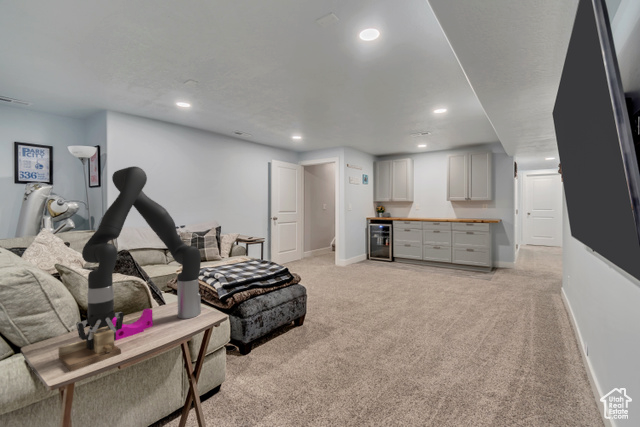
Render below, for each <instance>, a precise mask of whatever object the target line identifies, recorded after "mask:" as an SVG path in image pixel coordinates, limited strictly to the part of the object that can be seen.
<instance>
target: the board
mask: <svg viewBox="0 0 640 427" xmlns="http://www.w3.org/2000/svg"><path fill="white" fill-rule="evenodd" d="M121 354H122V349H121V348H120V347H118V346H116V344H114V348H113V349H112V351H110V352H109V353H108V352H106V351H104V352H101V353H98V354H97V353H96V352H95V351H93V350H89V349H88V348H87V346H86V340H80V341H77V342H76V341H75V342H73V343H69V344H65V345H63V346H59V347H58V360H59V361H60V362H61V364H63V365H64V366H65V367H66V368H67V369H68V370H69V371H70V372H73V371H75V370H76V371H77V370H79V369H81V368H84V367H87V366H89V365H93V364H95V363H98V362H101V361H103V360H107V359H110V358H112V357H115V356H118V355H121Z"/></svg>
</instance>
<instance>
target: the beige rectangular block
mask: <svg viewBox="0 0 640 427" xmlns="http://www.w3.org/2000/svg"><path fill="white" fill-rule="evenodd" d="M92 339H93V351H95V352H96V353H97V354H98V353H101V352H104V351H106V352H108V353H109V352H110V351H112V349H113V348H114V345H115V341H114V331H113V330H111V329H109V328H108V327H102V328H100V329H97V330H96V332H95V333H94V335H93V338H92Z"/></svg>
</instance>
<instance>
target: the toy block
mask: <svg viewBox="0 0 640 427" xmlns="http://www.w3.org/2000/svg"><path fill="white" fill-rule="evenodd" d="M116 320H117V318H116V316H115V317H114V318H113V320H112V321H111V322H112V324H113V325H114V327H115V326H116ZM153 326H154V325H153V309H151V308H149V307H148V308H143V310H142V313H141V315H140V317H139V318H138V319H136V321H134V322H132V323H128V324H124V323H122V328H121V329H119V330H117V331H116V340H115V341H119V340H123V339H125V338H128V337H131V336H135V335H137V334H140V333H144V332H145V330H146V329H149V328H152V327H153ZM115 341H114V342H115Z"/></svg>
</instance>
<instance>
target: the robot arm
mask: <svg viewBox="0 0 640 427" xmlns="http://www.w3.org/2000/svg"><path fill="white" fill-rule="evenodd" d="M111 176H112V177H111V178H112V183H113V185H114V187H115V188H116V189H117V190H118V191H119V194H118V195H117V197H116V198H115V200H114V201H113V202H112V204H111V205H110V206H109V207H108V209H107V210H106V211H105V213H104V215H103V216H102V217H101V221H100V223H99V226H98V228H97V230H96V231H95V232H94V233H93V234H92V236H90V237H89V239H88V240H87V241H86V243H85V244H84V246H83V248H82V252H81V254H82V255H81V256H82V259H83V260H84V262H86V263H90V264H98V265H97V268H96V269H94V270H93V269H92V270H91V271H90V272H89V273H88V274H87V275H88V276H87V296H86V298H87V299H86V300H87V318H86V319H85V320H82V321H77V322H76V324H75V325H76V329H77V333H78V338H79V339H81V341H83V340H86V346H87V348H88V349H89V350H93V339H92V338H93V335H94V333H95V332H96V330H97V329H100V328H102V327H107V328H109V329H111V330H113V331H114V342H115V340H116V331H117V330H119V329H121V328H122V323H123V322H124V316H125V313H124V312H122V311H118V312H115V311H114V310H115V304H114V303H115V298H114V297H115V293H114V292H115V291H114V286H113V282H114V281H113V279H114V278H113V273H114V270H115V267H116V264H117V259H118V249H117V247H116V245H114V244H113V243H109V242H110V241H113V240H114V241H115V240H117V239H118V238H119V237H120V235H121V232H122V230H123V227H124V225H125V222H126V220H127V216H128V215H129V213H130V211H131V209H132V207H134V209H135V210H137V212H138V213H139V215H140V216H141V217H142V218H143V220H144V221H145V222H146V224H147V225H148V226H149V228H151V230H152V231H153V232H154V233H155V234H156V235H157V238H159V240H161V242H162V243H163V244H164V246H165V247H166V248H167V250H168V252H169V253H170V255H171V256H172V258H173V260H174V261H175V262H176V263H177V264H178V265H182V266H181V272H179V273H178V274H177V280H176V281H177V318H178V319H183V320H184V319H192V318H196V317H197V316H199V315H201V313H202V310H201V309H202V306H201V303H202V301H201V300H202V299H201V296H202V295H201V293H199V292H200V290H199V289H200V288H199V286H200V285H199V281H200V280H199V277H200V276H199V275H200V273H201V263H202V262H201V256H202V255H201V252H200V251H201V250H200V249H199V248H198V247H197V246H194V245H188V244H186V243H185V242H184V240H182V238H181V237H180V235H179V234H178V230H177V227H176V224H175V220H174V219H173V217H172V216H171V215H170V213H169V212H168V211H167V209H166V208H165V207H164V206H162V205H161V204H159V203H158V202H156V201H155V200H153V199H151V198H150V197H149V196H148V195H147V194H145V193H144V191H143V189H144V188H145V186H146V185H147V181H148V180H147V179H148V177H147V174H146V172H145V171H144V169H142V168H141V167H139V166H128V167H124V168H122V169H118V170H116V171H114V173H113V174H112V175H111ZM114 317H116V318H117V320H116V326H115V327H114V325H113V324H112V322H111V321H112V320H113V318H114ZM87 324H88V325H89V327H88V330H87V333H86V332H85V328H86V325H87ZM123 324H124V323H123ZM116 341H117V340H116Z"/></svg>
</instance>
